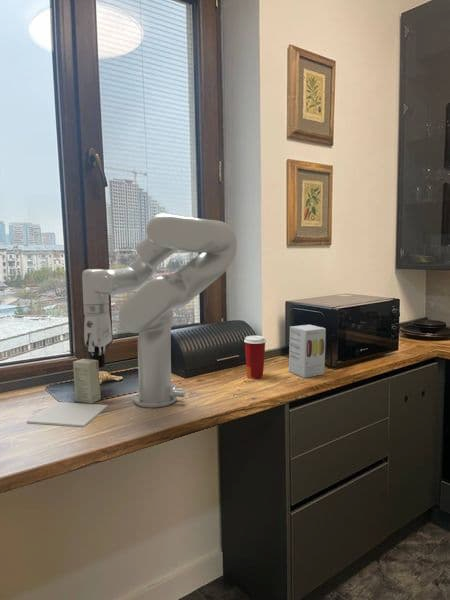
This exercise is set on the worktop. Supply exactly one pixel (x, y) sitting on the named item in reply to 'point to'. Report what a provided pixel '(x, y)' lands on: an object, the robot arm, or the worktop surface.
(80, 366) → the skincare box
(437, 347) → the worktop surface
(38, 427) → the worktop surface
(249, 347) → the paper cup
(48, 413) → the mat
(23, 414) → the worktop surface
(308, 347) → the supplement box
